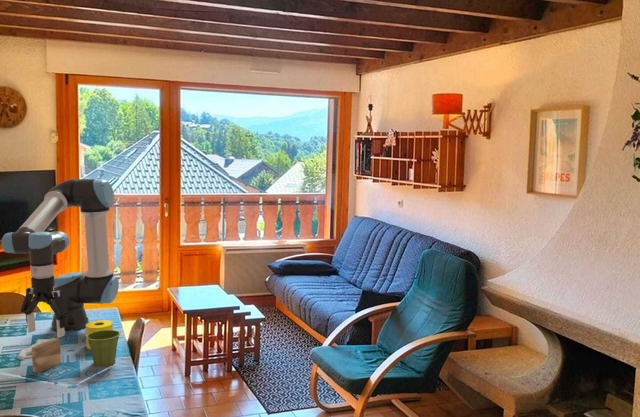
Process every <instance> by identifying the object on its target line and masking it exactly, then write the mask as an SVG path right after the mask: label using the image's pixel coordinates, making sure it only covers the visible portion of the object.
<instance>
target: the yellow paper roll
mask: <svg viewBox="0 0 640 417" xmlns="http://www.w3.org/2000/svg"><path fill="white" fill-rule="evenodd" d="M113 324H114V322H113V321H111V320H107V319H101V320H99V319H98V320H92V321H89V323H87V324H86V327H85V336H87V335H88V334H89V333H92V332H95V331H100V330H114V325H113ZM85 338H86V337H85ZM86 348H87V349H88V350H91V348H90V344H89V342H88V339H87V338H86Z"/></svg>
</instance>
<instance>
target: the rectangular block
mask: <svg viewBox="0 0 640 417" xmlns="http://www.w3.org/2000/svg"><path fill="white" fill-rule="evenodd" d="M49 339H50V340H48V341H45V342H43V343H40V344H38V345H35V346H33V347H32V354H31V355H32V358H31V360H32V372H34V373H38V374H39V373H42V372H44V371H46V370H48V369H51V368H53V367H55V366H57V365H59V364H61V363H62V357H61V356H62V354H61V339H60V338H55V337H52V338H49Z"/></svg>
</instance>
